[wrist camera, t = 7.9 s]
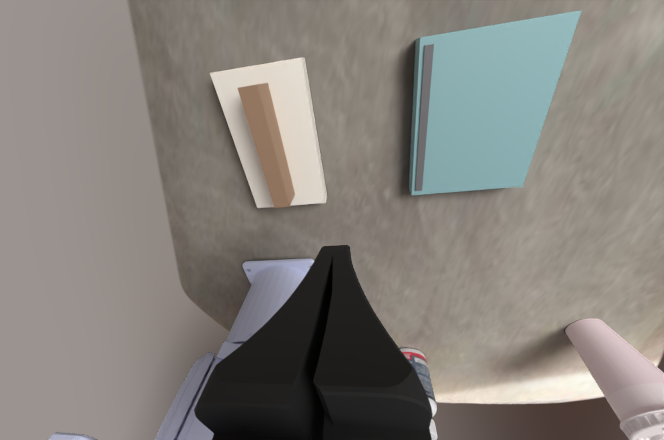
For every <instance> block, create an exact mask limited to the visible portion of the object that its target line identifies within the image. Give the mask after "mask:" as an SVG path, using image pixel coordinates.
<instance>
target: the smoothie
mask: <svg viewBox="0 0 664 440" xmlns="http://www.w3.org/2000/svg"><path fill="white" fill-rule="evenodd" d="M565 332H566V334H567V336H568V337H569V339H570V341H571V342H572V344H573V345H574V347H575V349H576V350H577V352H578V354H579V355H580V357H581V358H582V360H583V362H584V363H585V365H586V366H587V368H588V370H589V371H590V373H591V375H592V376H593V378H594V379H595V381H596V383H597V384H598V386H599V388H600V389H601V391H602V392H603V394H604V396H605V397H606V399H607V400H608V402H609V404H610V406H611V407H612V409H613V410H614V412H615V413H616V415H617V416H618V418H619V420H620V421H621V423H620V428H621V429H622V431H624V433H625V434H626V435H627V437H628V438H629V440H664V373H663V372H662V371H661V370H660V369H658V368H657V367H656V366H655V365H654V364H653V363H651V362H650V361H649V360H648V359H647V358H645V357H644V356H643V355H642V354H641V353H639V352H638V351H637V350H636V349H635V348H634V347H632V346H631V345H630V344H629V343H628V342H626V341H625V340H624V339H623V338H622V337H620V336H619V335H618V334H617V333H616V332H615V331H613V330H612V329H611V328H610V327H609V326H607V325H606V324H605V323H604V322H603V321H601V320H599V319H594V318H588V319H582V320H579V321H576V322H574V323H572V324H570V325H569V326H568V327H567V328H566V330H565Z"/></svg>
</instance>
